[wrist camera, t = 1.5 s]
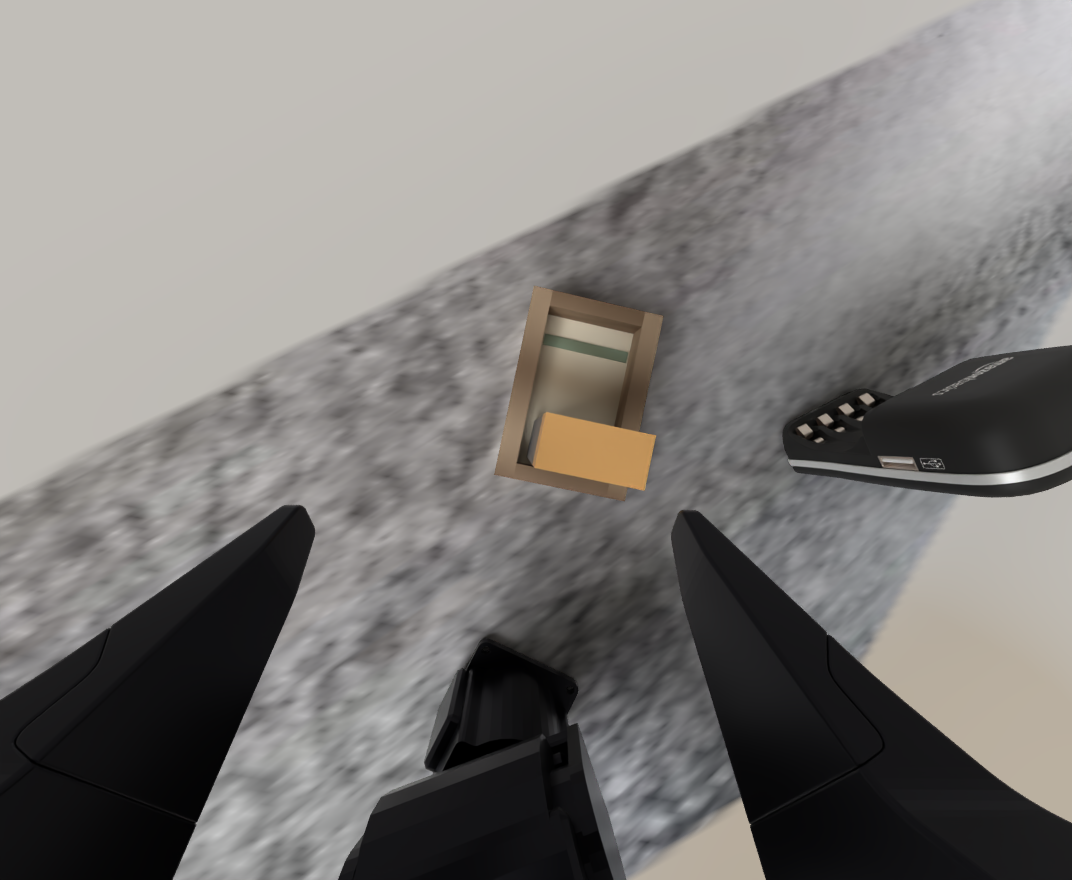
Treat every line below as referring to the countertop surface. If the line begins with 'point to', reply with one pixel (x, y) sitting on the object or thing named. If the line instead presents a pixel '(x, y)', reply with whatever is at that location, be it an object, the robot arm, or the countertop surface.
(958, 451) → the battery charger
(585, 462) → the fader lever
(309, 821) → the countertop surface
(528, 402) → the tray
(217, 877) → the countertop surface
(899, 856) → the robot arm
